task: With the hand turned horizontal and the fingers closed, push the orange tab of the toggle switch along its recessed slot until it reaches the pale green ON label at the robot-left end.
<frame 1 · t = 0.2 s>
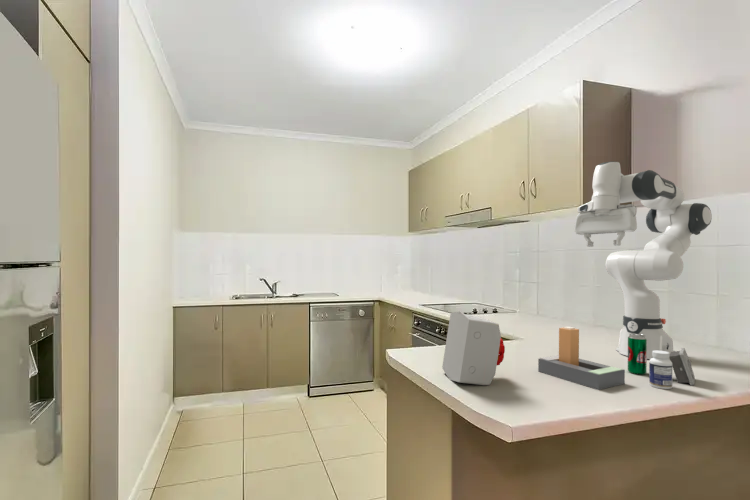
hand: (603, 246, 144), 40 cm above the countertop, tool pointing down, fingers open, 8 cm apart
electrical switch: (683, 381, 123), on the countertop
electrical switch box: (475, 379, 123), on the countertop
switch tab: (568, 348, 129), point 8 cm above the countertop, slide at 1.3 cm
soda can: (636, 373, 131), on the countertop
toggle switch: (579, 377, 126), on the countertop
pill bottle: (660, 387, 118), on the countertop
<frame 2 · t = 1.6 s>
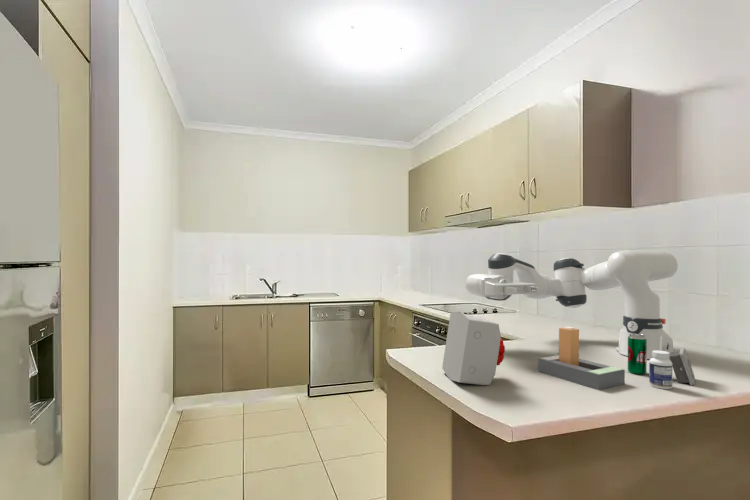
hand: (527, 290, 144), 24 cm above the countertop, tool horizontal, fingers open, 8 cm apart
nothing on the countertop moved.
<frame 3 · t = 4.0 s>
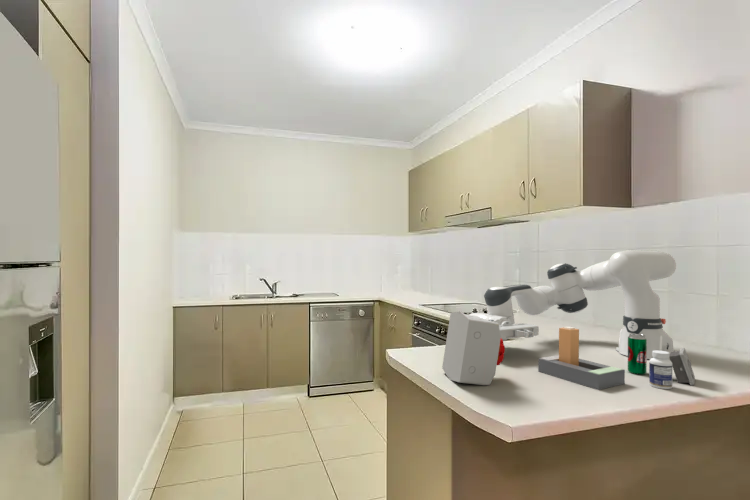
hand: (530, 335, 142), 10 cm above the countertop, tool horizontal, fingers closed
nothing on the countertop moved.
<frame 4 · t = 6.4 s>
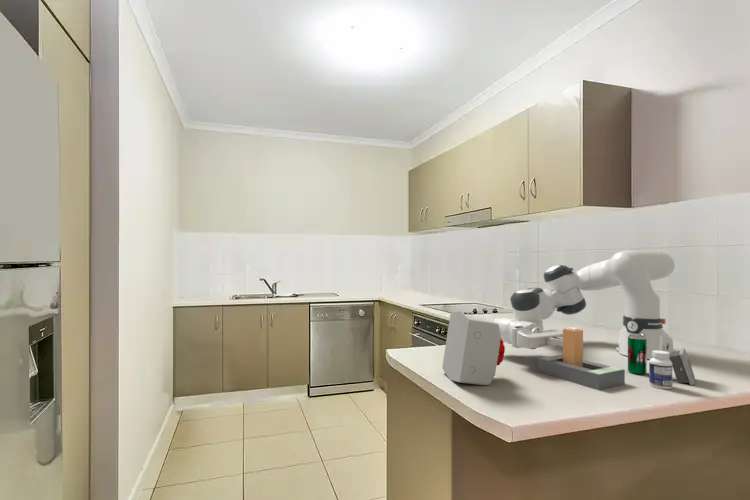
hand: (565, 343, 129), 9 cm above the countertop, tool horizontal, fingers closed, pressing on switch tab
switch tab: (572, 349, 128), point 8 cm above the countertop, slide at 2.7 cm, touching gripper
everything else where it was.
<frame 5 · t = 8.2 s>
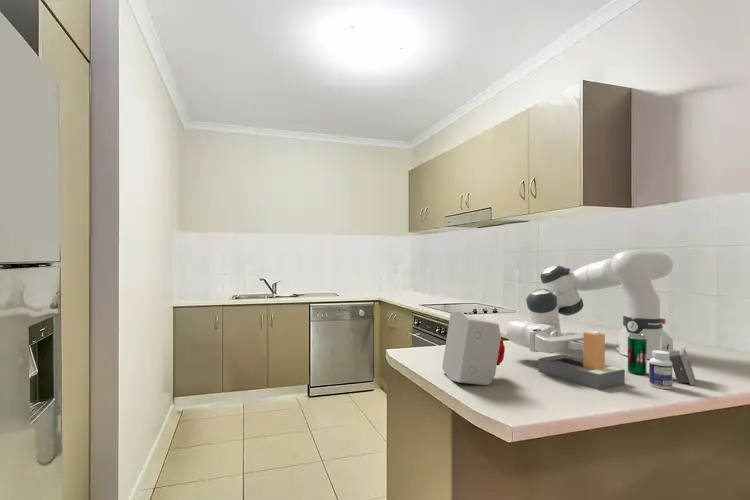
hand: (587, 347, 123), 10 cm above the countertop, tool horizontal, fingers closed, pressing on switch tab
switch tab: (593, 354, 122), point 8 cm above the countertop, slide at 9.6 cm, touching gripper, toggle switch
everything else where it was.
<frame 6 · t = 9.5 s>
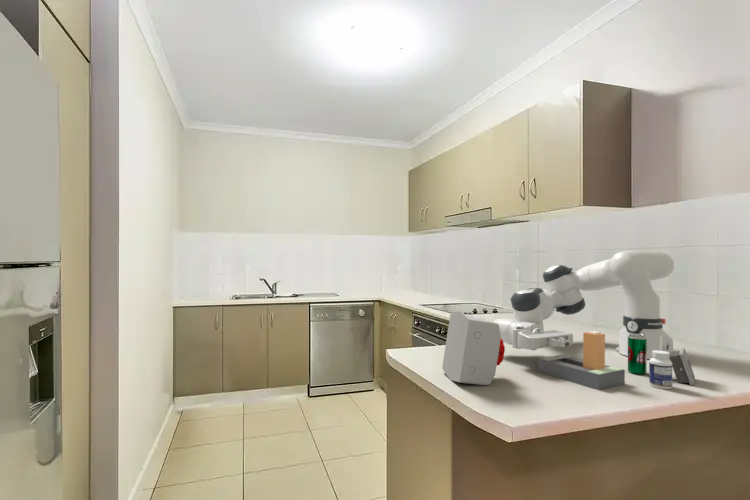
hand: (567, 344, 129), 9 cm above the countertop, tool horizontal, fingers closed
switch tab: (593, 354, 122), point 8 cm above the countertop, slide at 9.6 cm, touching toggle switch
everything else where it was.
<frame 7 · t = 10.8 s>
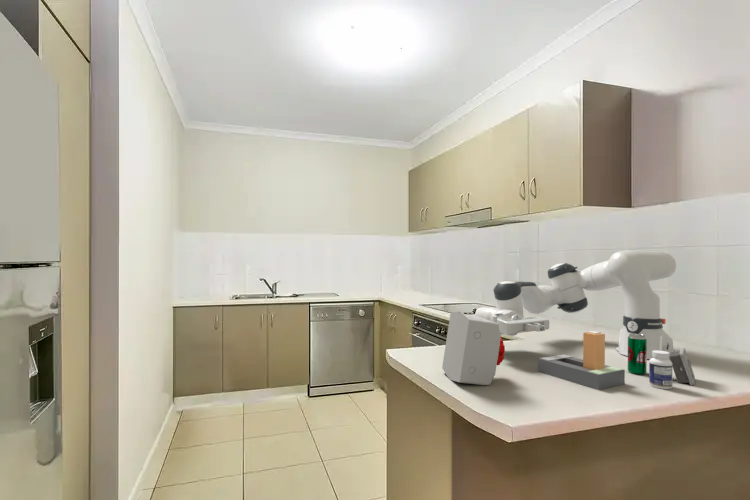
hand: (542, 328, 137), 12 cm above the countertop, tool horizontal, fingers closed
nothing on the countertop moved.
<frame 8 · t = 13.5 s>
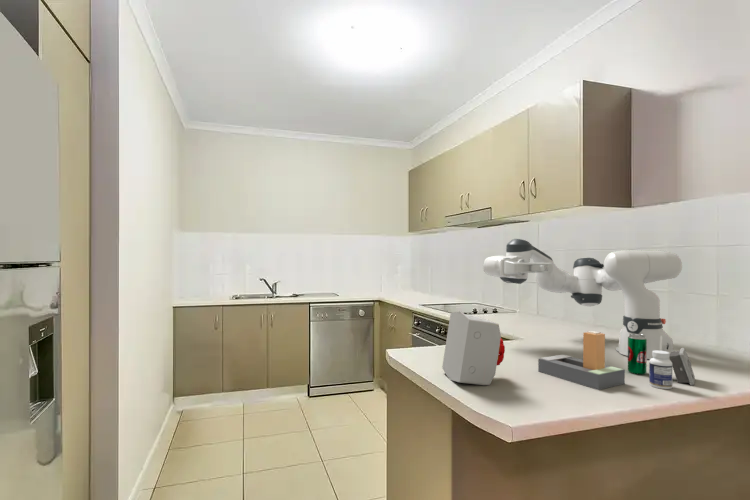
hand: (546, 268, 150), 32 cm above the countertop, tool horizontal, fingers closed
nothing on the countertop moved.
at the end: switch tab slide at 9.6 cm; the gripper is holding nothing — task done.
